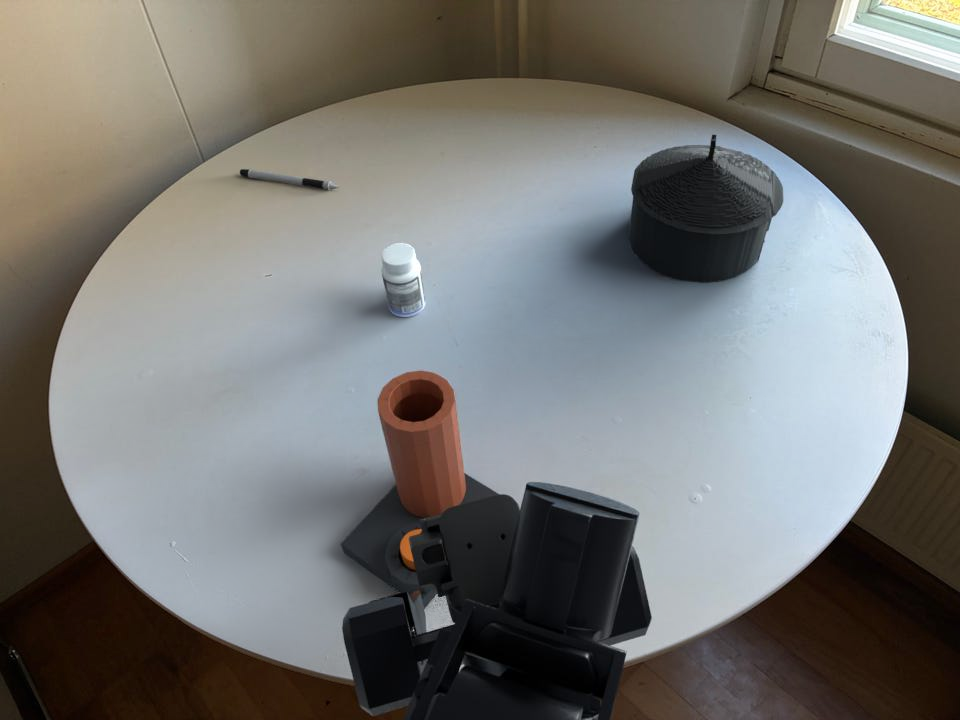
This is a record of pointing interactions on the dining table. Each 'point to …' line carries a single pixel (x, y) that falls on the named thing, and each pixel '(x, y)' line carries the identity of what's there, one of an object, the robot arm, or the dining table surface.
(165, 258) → the dining table surface
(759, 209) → the hut
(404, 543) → the button
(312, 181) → the pen
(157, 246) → the dining table surface
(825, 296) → the dining table surface
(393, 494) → the scale
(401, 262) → the pill bottle
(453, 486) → the jar
